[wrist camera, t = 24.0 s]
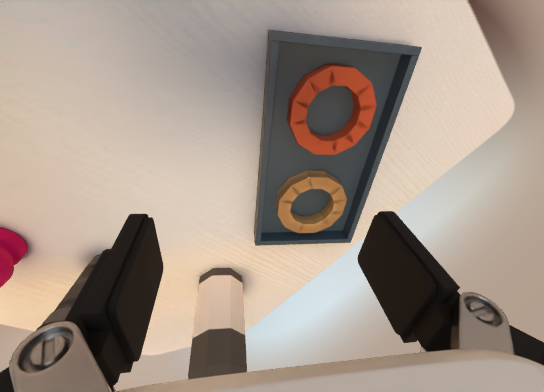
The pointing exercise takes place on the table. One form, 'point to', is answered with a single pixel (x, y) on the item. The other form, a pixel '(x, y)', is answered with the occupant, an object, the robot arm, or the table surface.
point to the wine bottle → (218, 326)
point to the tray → (324, 129)
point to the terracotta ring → (359, 117)
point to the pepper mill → (10, 253)
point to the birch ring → (302, 184)
